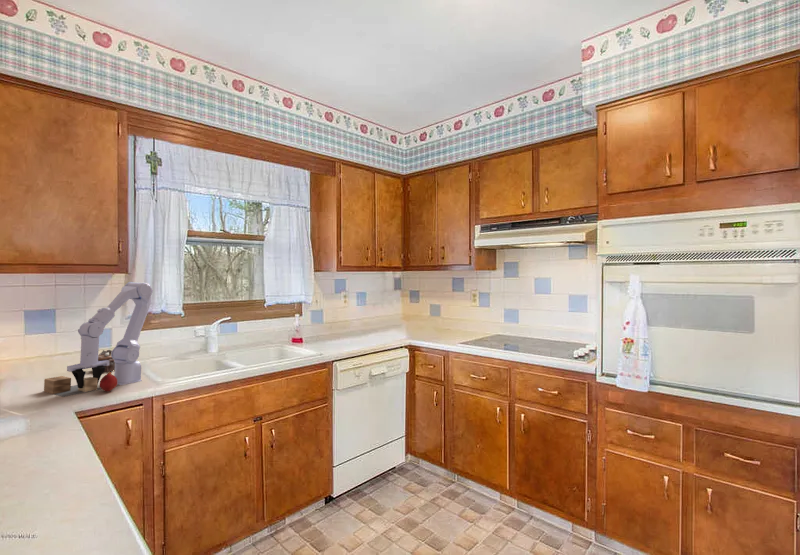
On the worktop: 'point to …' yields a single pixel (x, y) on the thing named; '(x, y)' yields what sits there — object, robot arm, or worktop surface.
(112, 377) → the red round fruit
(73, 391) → the mat
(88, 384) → the cube
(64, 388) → the tower base
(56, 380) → the tower top
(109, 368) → the cupcake
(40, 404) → the worktop surface
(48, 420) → the worktop surface
